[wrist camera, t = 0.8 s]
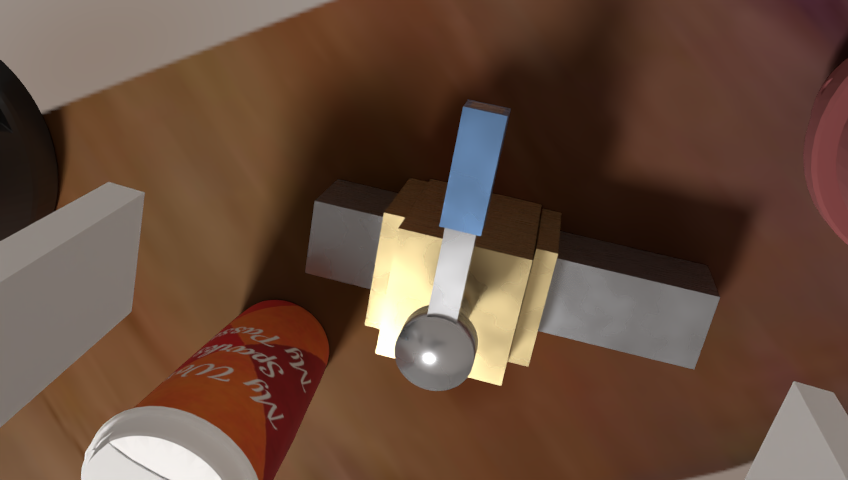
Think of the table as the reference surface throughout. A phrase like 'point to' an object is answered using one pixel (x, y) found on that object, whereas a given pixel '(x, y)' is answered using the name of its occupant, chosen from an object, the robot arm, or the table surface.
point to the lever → (455, 257)
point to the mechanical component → (829, 151)
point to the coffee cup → (221, 405)
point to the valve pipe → (510, 277)
